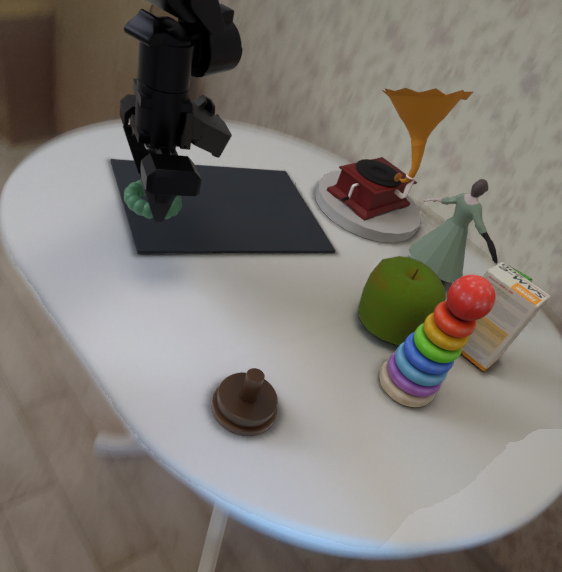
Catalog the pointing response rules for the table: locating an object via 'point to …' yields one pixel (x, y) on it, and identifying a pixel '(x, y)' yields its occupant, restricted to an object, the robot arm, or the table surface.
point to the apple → (399, 298)
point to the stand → (245, 403)
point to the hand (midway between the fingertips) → (152, 204)
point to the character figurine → (453, 235)
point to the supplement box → (503, 315)
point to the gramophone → (386, 175)
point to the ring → (141, 206)
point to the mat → (229, 215)
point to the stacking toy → (436, 343)
